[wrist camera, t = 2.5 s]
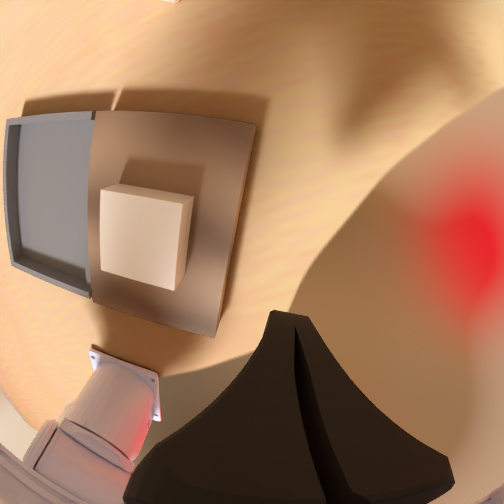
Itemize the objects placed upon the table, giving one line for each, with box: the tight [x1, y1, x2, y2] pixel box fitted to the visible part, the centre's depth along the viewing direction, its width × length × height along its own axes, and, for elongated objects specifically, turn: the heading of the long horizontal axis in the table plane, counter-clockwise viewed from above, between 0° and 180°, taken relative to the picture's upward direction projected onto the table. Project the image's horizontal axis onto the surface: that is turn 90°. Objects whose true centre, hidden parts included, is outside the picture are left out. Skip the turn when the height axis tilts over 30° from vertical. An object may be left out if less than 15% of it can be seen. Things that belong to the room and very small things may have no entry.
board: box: [88, 111, 257, 338], centre depth 17 cm, size 14×10×2 cm
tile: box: [100, 184, 194, 291], centre depth 15 cm, size 5×5×2 cm
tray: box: [3, 111, 96, 299], centre depth 17 cm, size 14×11×2 cm
